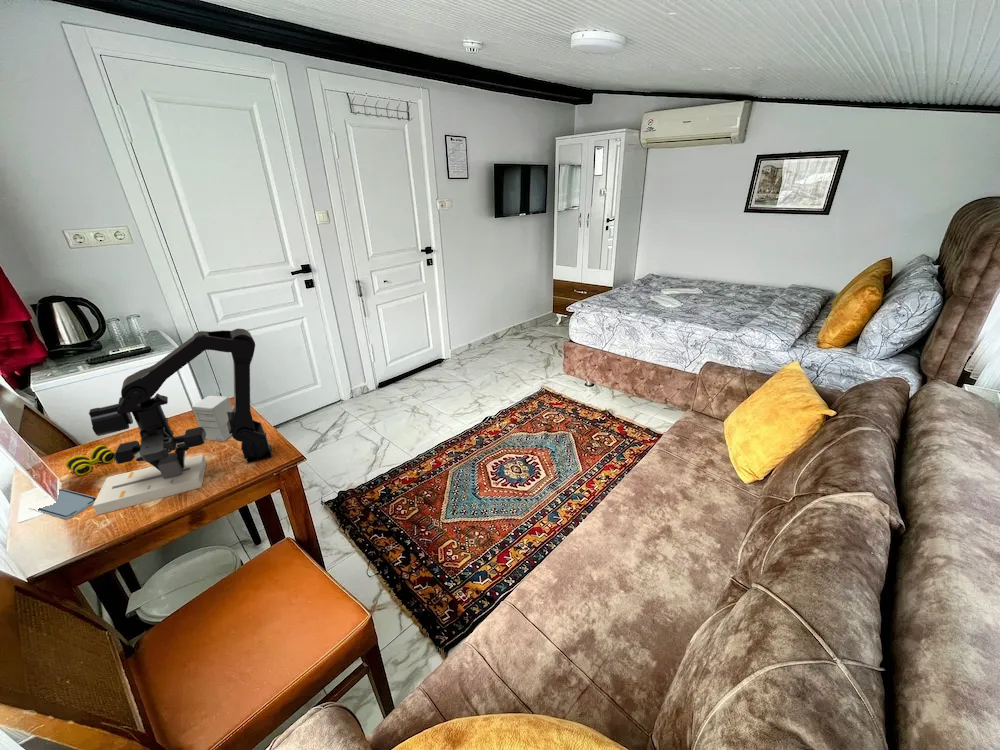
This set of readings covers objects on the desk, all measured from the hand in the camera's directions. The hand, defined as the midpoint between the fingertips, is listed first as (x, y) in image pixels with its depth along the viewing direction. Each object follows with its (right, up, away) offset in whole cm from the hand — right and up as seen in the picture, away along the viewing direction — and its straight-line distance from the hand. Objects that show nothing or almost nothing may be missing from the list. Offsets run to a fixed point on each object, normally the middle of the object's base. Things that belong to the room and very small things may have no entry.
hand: (173, 469), depth 112 cm
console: (-4, -5, 0) cm, 6 cm away
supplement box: (-2, +6, +22) cm, 23 cm away
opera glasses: (-29, -1, +8) cm, 30 cm away
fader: (0, -1, 0) cm, 1 cm away
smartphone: (-24, -8, -6) cm, 26 cm away
